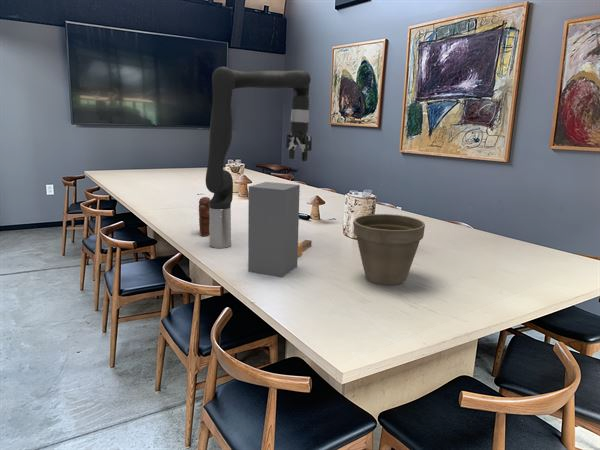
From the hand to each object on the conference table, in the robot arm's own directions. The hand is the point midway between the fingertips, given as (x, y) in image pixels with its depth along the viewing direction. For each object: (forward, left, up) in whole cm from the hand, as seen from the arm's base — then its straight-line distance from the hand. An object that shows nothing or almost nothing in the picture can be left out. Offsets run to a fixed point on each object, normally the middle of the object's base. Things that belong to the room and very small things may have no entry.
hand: (297, 159), depth 198 cm
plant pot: (+50, +3, -39) cm, 63 cm away
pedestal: (+19, -25, -39) cm, 50 cm away
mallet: (+6, -3, -39) cm, 39 cm away
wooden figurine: (-42, -23, -39) cm, 62 cm away
